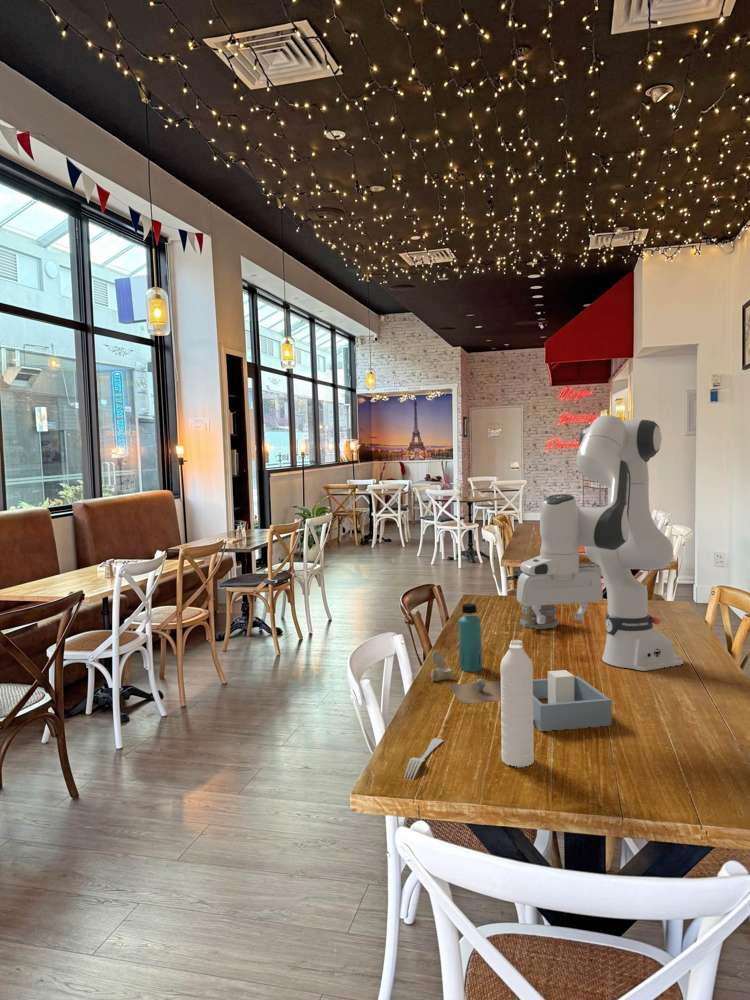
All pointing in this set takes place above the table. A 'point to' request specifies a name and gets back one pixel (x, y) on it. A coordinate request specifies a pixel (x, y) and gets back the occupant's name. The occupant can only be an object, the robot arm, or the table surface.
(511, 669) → the water bottle
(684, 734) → the table surface
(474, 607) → the beverage bottle
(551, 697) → the ivory rectangular pillar
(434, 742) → the fork
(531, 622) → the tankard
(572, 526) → the robot arm
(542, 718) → the slate bin
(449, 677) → the bone
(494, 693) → the walnut base
